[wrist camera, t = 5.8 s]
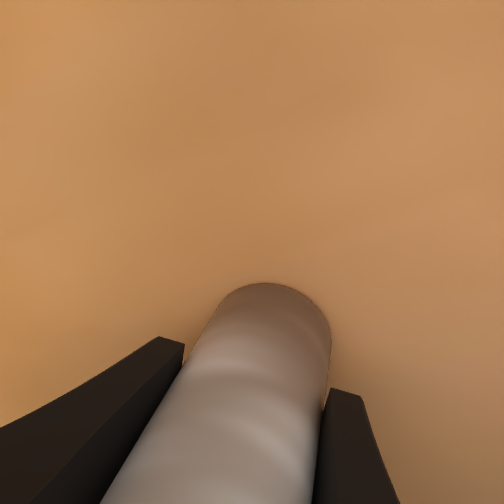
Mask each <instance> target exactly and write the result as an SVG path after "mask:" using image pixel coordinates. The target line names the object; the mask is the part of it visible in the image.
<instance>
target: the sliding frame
mask: <svg viewBox="0 0 504 504" xmlns="http://www.w3.org/2000/svg"><path fill="white" fill-rule="evenodd" d="M330 353H331V333H330V329H329V326H328V324H327V321H326V319H325V317H324V316H323V314H322V313H321V311H320V310H319V309H318V307H317V306H316V305H315V304H314V303H313V302H312V301H310V300H309V299H308V298H307V297H305V296H304V295H302V294H301V293H299V292H297V291H295V290H293V289H291V288H288V287H285V286H281V285H276V284H268V283H259V284H252V285H248V286H244V287H242V288H239V289H237V290H235V291H234V292H232V293H230V294H229V295H228V296H227V297H226V298H225V299H224V300H223V301H222V302H221V303H220V305H219V306H218V308H217V310H216V311H215V313H214V315H213V316H212V318H211V320H210V321H209V323H208V325H207V326H206V328H205V329H204V331H203V333H202V334H201V336H200V338H199V339H198V341H197V343H196V344H195V346H194V348H193V349H192V351H191V353H190V354H189V356H188V358H187V359H186V361H185V363H184V364H183V366H182V368H181V369H180V371H179V373H178V374H177V376H176V378H175V379H174V381H173V383H172V384H171V386H170V388H169V389H168V391H167V393H166V394H165V396H164V398H163V399H162V401H161V403H160V404H159V406H158V408H157V409H156V411H155V413H154V414H153V416H152V418H151V419H150V421H149V423H148V424H147V426H146V427H145V429H144V431H143V432H142V434H141V436H140V437H139V439H138V441H137V442H136V444H135V446H134V447H133V449H132V451H131V452H130V454H129V456H128V457H127V459H126V461H125V462H124V464H123V466H122V467H121V469H120V471H119V472H118V474H117V476H116V477H115V479H114V481H113V482H112V484H111V486H110V487H109V489H108V491H107V492H106V494H105V496H104V497H103V499H102V501H101V502H100V504H311V502H312V494H313V486H314V478H315V470H316V463H317V453H318V445H319V437H320V429H321V421H322V414H323V408H324V400H325V392H326V384H327V376H328V369H329V361H330Z"/></svg>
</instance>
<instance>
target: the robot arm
mask: <svg viewBox="0 0 504 504" xmlns="http://www.w3.org/2000/svg"><path fill="white" fill-rule="evenodd" d="M184 346H185V344H183V343H180V342H176V341H173V340H170V339H166V338H163V337H159V336H158V337H156V338H155V339H153V340H151V341H150V342H148V343H147V344H145V345H144V346H142V347H140V348H139V349H137V350H136V351H134V352H133V353H131V354H130V355H128V356H127V357H125V358H124V359H122V360H121V361H119V362H117V363H116V364H114V365H113V366H111V367H110V368H108V369H106V370H105V371H103V372H102V373H100V374H98V375H97V376H95V377H93V378H92V379H90V380H88V381H87V382H85V383H83V384H82V385H80V386H78V387H77V388H75V389H73V390H72V391H70V392H68V393H66V394H64V395H63V396H61V397H59V398H57V399H55V400H53V401H52V402H50V403H48V404H46V405H44V406H42V407H41V408H39V409H37V410H35V411H33V412H31V413H29V414H27V415H25V416H23V417H21V418H19V419H17V420H15V421H13V422H11V423H9V424H7V425H5V426H3V427H1V428H0V504H100V502H101V501H102V499H103V497H104V496H105V494H106V492H107V491H108V489H109V487H110V486H111V484H112V482H113V481H114V479H115V477H116V476H117V474H118V472H119V471H120V469H121V467H122V466H123V464H124V462H125V461H126V459H127V457H128V456H129V454H130V452H131V451H132V449H133V447H134V446H135V444H136V442H137V441H138V439H139V437H140V436H141V434H142V432H143V431H144V429H145V427H146V426H147V424H148V423H149V421H150V419H151V418H152V416H153V414H154V413H155V411H156V409H157V408H158V406H159V404H160V403H161V401H162V399H163V398H164V396H165V394H166V393H167V391H168V389H169V388H170V386H171V384H172V383H173V381H174V379H175V378H176V376H177V374H178V373H179V371H180V369H181V367H182V360H183V353H184ZM311 504H400V502H399V500H398V497H397V495H396V493H395V490H394V488H393V485H392V483H391V480H390V478H389V475H388V473H387V470H386V468H385V465H384V463H383V460H382V457H381V455H380V452H379V449H378V446H377V443H376V440H375V438H374V435H373V432H372V429H371V425H370V422H369V419H368V416H367V412H366V409H365V405H364V402H363V400H362V398H361V397H360V396H358V395H355V394H351V393H348V392H344V391H341V390H338V389H334V388H331V389H330V392H329V395H328V398H327V401H326V404H325V407H324V410H323V414H322V421H321V429H320V437H319V445H318V453H317V463H316V470H315V478H314V486H313V494H312V502H311Z"/></svg>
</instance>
